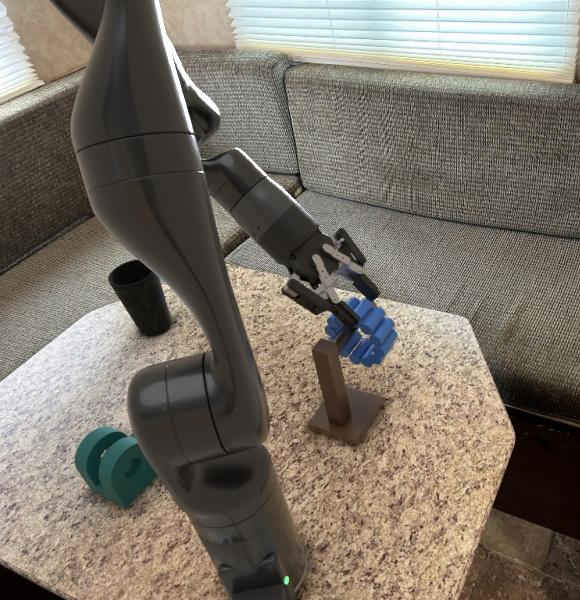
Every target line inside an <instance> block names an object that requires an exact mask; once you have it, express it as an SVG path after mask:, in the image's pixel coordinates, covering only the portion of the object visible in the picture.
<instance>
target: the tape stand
mask: <svg viewBox="0 0 580 600" xmlns="http://www.w3.org/2000/svg"><path fill="white" fill-rule="evenodd" d="M363 299H367V298H366V297H363V298H362V299H360V302H361V301H362V300H363ZM372 303H373V306H374V307H373V309H374V308H375V307H377V306H378V305H377V303H376V302H375V300H374V301H372ZM373 309H372V310H373ZM372 310H371V311H372ZM370 313H371V312H370ZM370 313H369V314H370ZM369 314H368V315H369ZM368 315H367V316H368ZM366 318H367V317H366ZM366 318H365V319H366ZM365 319H364V320H365ZM364 320H363V321H364ZM362 323H363V322H362ZM362 323H361V324H362ZM361 324H360V325H361ZM360 325H359V327H349V326H348V327H347V326H344V327H343V329H342V330H341V331H340V332H339V334H338V335H337V336H336V338H335V339H334V340H333V341H330V340H328V339H326V338H323V337H320V338H319V339H318V340H317V342H316V343H315V344H314V345H313V347H312V348H311V349H310V350H311V355H312V359H313V363H314V367H315V371H316V376H317V379H318V383H319V387H320V391H321V396H322V400H323V401H322V403H321V404H320V405H319V407H318V409H317V410H316V411H315V412H314V414H313V416H312V417H311V418H310V419H309V421H308V422H307V427H308V430H310V431H313V432H316V433H319V434H321V435H325V436H328V437H330V438H333V439H336V440H339V441H342V442H345V443H348V444H351V445H354V446H357V447H358V446H359V445H360V443H361V441H362V440H363V438H364V437H365V435H366V434H367V431H368V430H369V429H370V427H371V426H372V424H373V422H374V420H375V419H376V417H377V416H378V414H379V413H380V411H381V410H382V409H383V406H384V404H385V403H386V402H385V396H383V395H379V394H376V393H372V392H369V391H365V390H362V389H359V388H356V387H352V386H349V385H347V384H346V383H345V377H344V372H343V367H342V362H341V359H340V353H341V352H342V351H343V349H344V348H345V347H346V345H347V344H348V343H349V341H350V340H351V339H352V337H353V336H354V335H355V333H356V332H357V331H358V330H360ZM358 332H359V331H358Z"/></svg>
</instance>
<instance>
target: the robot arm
mask: <svg viewBox="0 0 580 600" xmlns="http://www.w3.org/2000/svg"><path fill="white" fill-rule="evenodd" d="M159 1H160V0H48V2H49V3H50V4H51V5H52V6H53V8H55V10H56V11H57V12H58V13H59V14H60V15H61V16H62V17H63V18H64V19H65V20H66V21H67V22H68V23H69V24H70V25H71V26H72V27H73V28H74V29H75V31H77V32H78V34H80V36H81V37H82V38H84V39H85V41H86V42H87V43H88V44H89V45H90V47H91V48H92V49H91V52H90V55H89V57H88V59H87V64H86V66H85V69H84V71H83V75H82V78H81V81H80V82H79V83H80V84H79V87H78V89H77V93H76V97H75V99H74V104H73V107H72V111H71V112H72V114H71V118H70V138H71V143H72V146H73V150H74V154H75V157H76V161H77V164H78V167H79V171H80V174H81V179H82V181H83V185H84V188H85V192H86V194H87V198H88V201H89V205H90V207H91V210H92V212H93V214H94V216H95V217H96V219H97V220H98V222H99V223H100V224H101V225H102V227H103V228H104V229H105V230H106V231H107V232H108V233H109V235H111V236H112V237H113V238H114V239H115V240H116V241H117V242H118V243H119V244H120V245H121V246H122V247H123V248H124V249H125V250H126V251H128V252H129V253H130V254H131V255H132V256H133V257H134V258H136V260H137V259H138V260H140V261H141V262H142V263H143V264H144V265H145V266H147V267H148V268H149V269H150V270H151V271H152V272H154V273H155V274H156V275H157V276H158V277H159V279H160V281H162V282H163V283H164V284H166V285H167V286H168V287H169V289H171V291H172V292H173V293H174V294H175V295H176V296H177V297H178V298H179V299H180V300H181V301H182V303H183V304H184V305H185V306H186V308H187V309H188V310H189V311H190V313H191V314H192V316H193V317H194V319H195V320H196V322H197V323H198V325H199V327H200V329H201V330H202V332H203V334H204V336H205V339H206V341H207V343H208V345H209V347H210V350H208V351H204V352H203V351H202V352H198V353H195V354H191V355H186V356H183V357H178V358H174V359H171V360H166V361H161V362H159V363H154V364H150V365H148V366H144V367H142V368H141V369H139V370H138V371H136V373H134V374H133V376H132V377H131V379H130V382H129V384H128V387H127V392H126V409H127V416H128V420H129V424H130V428H131V431H132V433H134V436H135V438H136V440H137V442H138V444H139V447H140V449H141V451H142V453H143V454H144V456H145V458H146V459H147V461H148V462H149V464H150V466H151V467H152V469H153V470H154V471H155V473H156V474H157V476H156V477H158V479H159V480H160V482H161V483H162V484H163V486H164V487H165V488H166V490H167V492H168V493H169V494H170V496H171V498H172V500H173V501H174V503H175V504H176V505H177V507H178V508H179V509H180V510H181V511H182V512H183V513H185V514H186V516H187V518H188V519H189V522H190V523H191V525H192V527H193V529H194V530H195V531H194V532H196V534H197V536H198V538H199V540H200V541H201V544H202V546H203V547H204V549H205V551H206V552H207V554H208V556H209V558H210V560H211V561H212V563H213V566H214V567H215V569H216V570H217V571H216V572H217V577H218V578H219V581H220V582H221V584H222V585H223V587H224V589H225V591H226V593H227V594H228V596H229V598H230V600H296V596H297V593H298V592H299V591H300V590H301V588H302V586H303V584H304V583H305V580H306V578H307V574H308V569H309V561H308V560H309V559H308V555H307V552H306V549H305V547H304V545H303V543H302V541H301V538H300V534H299V533H298V530H297V526H296V524H295V522H294V519H293V515H292V513H291V510H290V508H289V505H288V502H287V499H286V496H285V492H284V491H283V488H282V484H281V482H280V479H279V477H278V473H277V471H276V467H275V465H274V462H273V460H272V457H271V454H270V452H269V450H268V448H267V447H266V446H265V445H264V443H265V442H266V441H267V439H268V437H269V434H270V430H271V429H270V428H271V418H270V417H271V415H270V408H269V403H268V397H267V393H266V390H265V386H264V383H263V379H262V376H261V373H260V370H259V366H258V363H257V359H256V357H255V354H254V350H253V348H252V345H251V344H252V343H251V342H250V338H249V335H248V332H247V329H246V326H245V323H244V320H243V316H242V313H241V309H240V306H239V304H238V300H237V298H236V293H235V291H234V288H233V285H232V282H231V281H232V280H231V278H230V275H229V271H228V268H227V264H226V260H225V255H224V252H223V249H222V243H221V239H220V236H219V235H220V234H219V231H218V227H217V222H216V218H215V214H214V209H213V206H212V199H213V200H214V201H215V202H216V203H218V205H220V207H221V208H222V209H224V211H226V212H227V214H229V215H230V217H231V218H232V219H233V220H234V221H235V222H236V224H237V225H238V226H239V227H240V228H241V229H242V230H243V232H244V233H245V234H246V235H248V236H249V238H251V239H252V240H253V241H254V243H256V244H257V245H258V246H259V247H260V248H261V249H262V250H263V251H264V252H265V253H266V254H267V255H268V256H269V257H270V258H271V259H272V260H273V261H275V263H276V264H278V265H282V266H284V267H285V268H286V270H287V271H288V274H289V278H288V280H287V282H286V283H285V284H284V285H283V286H282V287H281V288H280V292H281V294H282V295H283V296H285V297H287V298H288V299H290V300H291V301H293V302H294V303H296V304H297V305H299V306H300V307H302V308H304V309H305V310H306V311H308V312H309V313H311V314H312V315H314V316H319V315H320V314H322V313H325V312H329V313H331V314H333V315H334V316H335V317H336V318H337V319H338V320H339V321H340V322H341V323H342V324H343V325H345V326H347V327H348V326H349V327H354V326H355V325H357V324H358V323H359V321H360V320H361V318H360V317H359V316H358V315H357V314H356V313H355V312H354V311H353V310H352V309H351V308H350V307H349V306H348V305H347V304H346V303H345V302H344V301H345V300H343V299H340V297H339V295H338V293H337V291H336V290H335V288H334V282H333V279H332V277H331V276H332V275H333V276H335V277H341V278H344V279H346V280H348V281H349V282H352V284H351V285H352V286H353V287H354V288H355V289H356V290H357V291H358V292H359V293H360V294H361V295H362V296H363V297H364V298H367V299H368V300H370V301H371V302H372V301H374V302H375V301H376V300H377V299H378V298H379V297H380V296H381V291H380V289H379V287H378V286H377V285H376V283H374V281H373V280H371V278H370V277H369V276H367V274H366V273H365V271H364V267H365V266H364V265H365V264H366V263H367V262H368V261H367V258H366V257H365V255H364V254H363V252H362V251H361V250H360V248H359V247H358V246H357V244H356V243H355V241H354V240H353V238H352V237H351V236H350V235H349V233H348V231H346V228H344V227H339V228H338V229H337V230H336V231H335V232H334V233H332V234H331V235H328V234H326V233H324V232H323V231H321V230H320V224H319V222H317V220H316V219H315V218H314V217H313V216H312V215H310V214H309V212H308V211H307V210H305V209H304V208H303V206H301V204H300V203H299V202H298V201H296V199H295V198H294V197H292V195H291V194H289V192H287V191H286V189H284V188H283V186H281V185H280V184H279V183H277V182H276V181H274V179H272V178H271V177H270V176H269V175H268V174H267V173H266V172H265V171H264V170H263V169H262V168H261V167H259V165H258V164H256V162H255V161H254V160H252V159H251V158H250V156H248V155H247V153H245V152H244V151H243V150H241V149H240V148H238V147H230V148H227V149H225V150H223V151H221V152H219V153H218V154H216V155H214V156H211V157H209V158H202V157H201V153H200V149H201V148H202V147H204V145H206V144H207V143H208V142H209V141H210V140H211V139H212V138H213V137H215V136H216V134H217V133H218V132H219V130H220V128H221V123H222V118H221V113H220V110H219V108H218V106H217V105H216V104H215V102H214V101H213V100H212V99H211V98H210V97H209V96H208V95H206V93H204V92H203V91H202V90H201V89H200V88H198V87H197V86H196V85H195V84H194V82H193V81H192V80H191V79H190V77H189V76H188V74H187V73H186V71H185V69H184V67H183V65H182V63H181V59H180V58H179V56H178V54H177V52H176V50H175V47H174V45H173V43H172V42H171V40H170V38H169V37H168V35H167V34H166V29H165V24H164V20H163V15H162V11H161V7H160V6H161V5H160V2H159ZM211 198H212V199H211ZM305 283H306V285H307V286H306V285H305Z"/></svg>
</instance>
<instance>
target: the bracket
mask: <svg viewBox="0 0 580 600" xmlns="http://www.w3.org/2000/svg"><path fill="white" fill-rule="evenodd" d="M74 467H75V469H76V470H77V472H78V474H79V475H80V477H81V478H82V479H83V481H84V482H85V484H86V485H87V486H88V488H89V489H90V491H92V492H94V493H95V494H98V495H100V496H101V497H103V498H105V499H107V500H109V501H111V502H113V503H114V504H117V505H118V506H121V507H122V508H124V509H128V508H129V507H130V505H131V504H133V503H134V501H135V500H136V499H137V498H138V497H139V496H140V495H141V494H142V493H143V492H144V491H145V490H146V488H147V487H148V486H149V485H150V484H151V483H152V482H153V481H154V479H155V478H157V477H158V476H157V474H156V473H155V471H154V470H153V469H152V467H151V466H150V464H149V462H148V461H147V459H146V458H145V456H144V454H143V453H142V451H141V449H140V447H139V444H138V442H137V440H136V438H135V436H134V433H133V432H132V433H131V434H130V435H127V434H126V433H124V432H123V431H121V430H119V429H116V428H114V427H113V426H108V425H105V426H104V425H102V426H99V427H96V428H95V429H93V430H91V431H90V432H88V433H87V434H86V435H85V437H84V438H82V440H81V441H80V442H79V445H78V447H77V448H76V451H75V455H74Z"/></svg>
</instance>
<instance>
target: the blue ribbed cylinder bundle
mask: <svg viewBox="0 0 580 600" xmlns="http://www.w3.org/2000/svg"><path fill="white" fill-rule="evenodd" d="M362 299H363V298H362ZM362 299H359V298H357V297H355V296H351V297H349V299H348V300H343V301H344V302H345V303H346V304H347V305H348V306H349V307H350V308H351V309H352V310H353V311H354V312H355V313H356V314H357V315H358V316H359V317H360V318H361V320H360V321H359V323H358V324H357V325H355V326H354V327H359V325H360V324H361V323H362V322H363V323H362V324H361V325H360V328H359V330H360V332H361V333H363V334H364V335H366V336H369V337H363V335H362V334H361V333H360V332H359V331H357V332H356V333H355V335H354V336H353V337H352V339H351V340H350V341H349V343H348V344H347V345H346V347H345V348H344V349H343V351H342V352H341V353H340V355H339V357H342V358H344V359H345V358H347V359H349V361H350V363H352V364H353V365H356V366H359V365H361V364H362V365H363V366H364V367H366V368H368V369H369V368H372V367H373V365H376V366H380V365H381V364H382V363H383V361H384V360H385V359H386V357H387V355H388V354H389V353H390V352H391V350H392V349H393V348H394V346H395V341H396V340H397V339H398V336H399V335H398V334H399V333H398V332H397V331H396V330H395V329H394V328H395V326H396V322H395V321H394V320H393V319H392V318H391V317H388V316H386V315H387V312H386V310H385V309H384V308H383V307H381V306H378V305H377V307H375V308H374V309H373V307H374V306H373V303H372V302H371V301H370V300H368V299H363V300H362ZM361 300H362V301H361ZM360 301H361V302H360ZM372 309H373V310H372ZM371 310H372V311H371ZM370 312H371V313H370ZM369 313H370V314H369ZM368 314H369V315H368ZM367 315H368V316H367ZM366 317H367V318H366ZM365 318H366V319H365ZM364 319H365V320H364ZM363 320H364V321H363ZM344 326H345V325H343V324H342V323H341V322H340V321H339V320H338V319H337V318H336V317H335V316H334V315H333V314H332V313H331V314H330V315H329V316H328V317H327V319H326V325H325V326H324V329H323V330H324V333H325V334H326V335H327V336H329V337H328V339H327V340H330V341H333V340H334V339H335V338H336V336H337V335H338V334H339V332H340V331H341V330H342V329H343V327H344Z"/></svg>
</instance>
